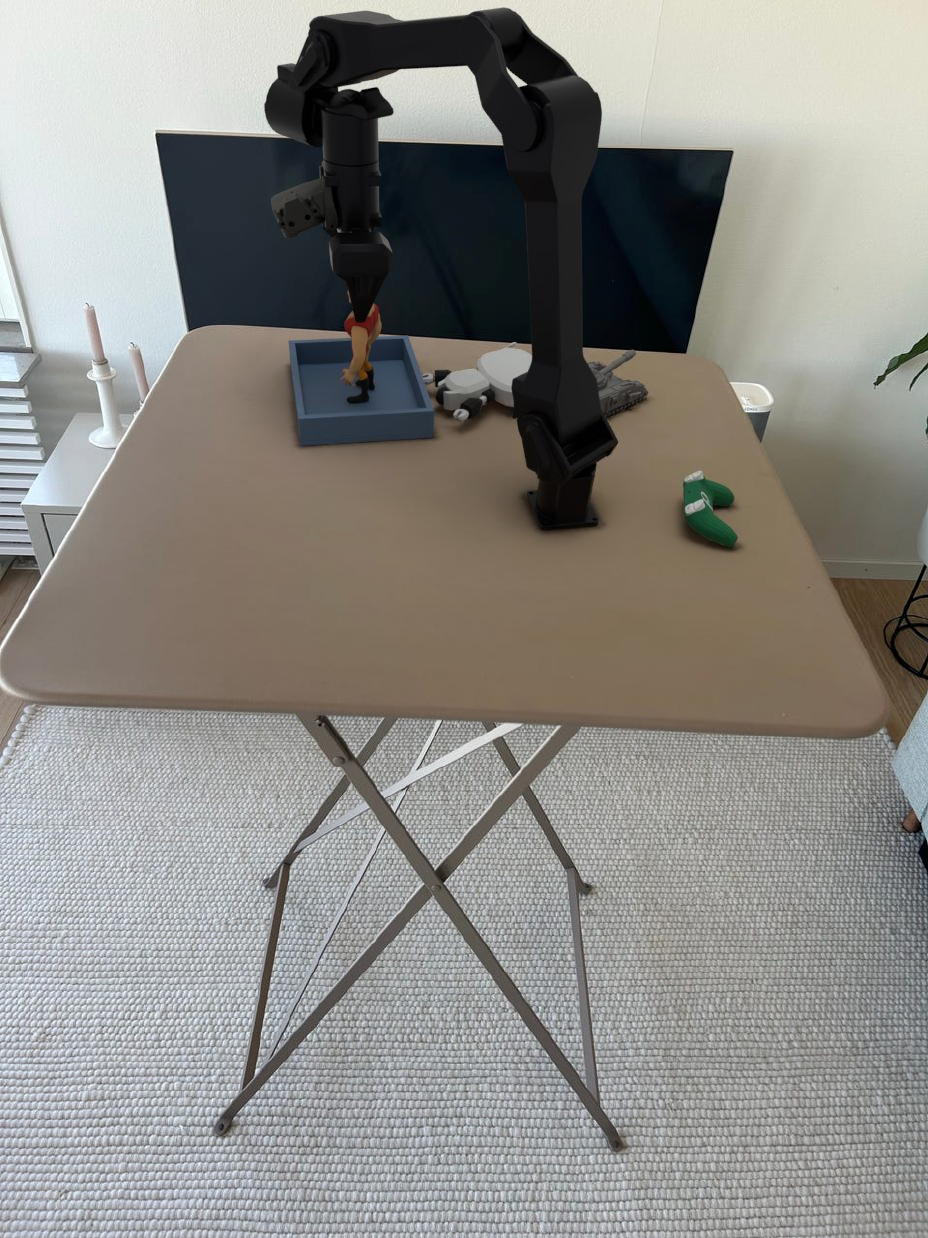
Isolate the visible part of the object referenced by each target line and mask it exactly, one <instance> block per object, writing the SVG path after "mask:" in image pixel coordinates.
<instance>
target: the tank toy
mask: <svg viewBox="0 0 928 1238" xmlns="http://www.w3.org/2000/svg"><path fill="white" fill-rule="evenodd" d="M636 355H637V352H636V350H635V349H629V350H627V351H626V352H625V353H623V354H622V355H621V356H620V357H618V358H616V359H615V360H614V361H612V362H611V363H610V364H608V365H606V364H605V363H603V362H600V361H589V362H587V363H588V365H589V367H590V368H591V370H592V372H593V373H594V375H595V377H596V379H597V384H598V391H599V398H600V405H601V409H602V411H603V413H604V415H605V417H606V418H607V416H611V415H613V414H615V413H617V412H619V411H621V410H623V409H626V408H627V407H630V406H631V405H635V404H636V403H638V402H642V400H644V399H645V398H646V397H647V396H648V395H649V390H648V389H647V388H646V387H645V384H644V383H643V382H640V381H638V380H633V379H622V378H621V377H618V376H617V375H615V374H614V373H613V371H614V370H616V369H618V368H619V367H621V366H622V365H623V364H624V363H627V362H629V361H630V360H632V359H633V358H635V356H636Z"/></svg>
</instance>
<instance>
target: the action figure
mask: <svg viewBox="0 0 928 1238" xmlns="http://www.w3.org/2000/svg"><path fill="white" fill-rule="evenodd" d="M346 294H347V295H348V302H349V304H351V300H350V296H349V291H348V290H347V293H346ZM343 327H344V331H345V333H347V335H348V336H349V338H351V340H352V350H353V359H352V361H351V364H350V369H344V370H343V371H342V373H345V375H344V376H343V377H342V378H341V379H340V381H342V380H343V379H345V385H346V384H347V381H348V384H349V385H350V386H351V385H352V386H354V384H353V381H354V378H355V373H357V376H358V380H357V381H356V385H358V386H361V389H362V392H361V394H360V395H358V396H351V397H347V401H348V402H349V403H359V402H364V401H369V398H370V397H369V395H368V388H369V389H371V390H373V389H375V385H374V382H373V379H374V370H373V366H372V365H371V364H370V363H369V362H367V361H368V356H369V352H370V349H371V344H372V343H373V342H374V341H375V340H376V339H377V337H380V334H381V331H382V329H383V328H382V321H381V315H380V312H379V306H378V305H377V304H376V303H375V302H374V303H373V306H372V308H371V310H370V312H369V315H368V317H367V319H366V321H365V322H364V323H357V322H355V318H354V313H353V310H351V312H350V313H349V315H348V316H347V318H346V320H345V321H344V324H343ZM363 369H364V371H363Z"/></svg>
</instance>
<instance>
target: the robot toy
mask: <svg viewBox="0 0 928 1238" xmlns="http://www.w3.org/2000/svg"><path fill="white" fill-rule="evenodd" d="M517 344H518V343H517V342H515V341H513V342H511V343H510V344H509V345H507V346H505V347H503V348H501V349H498V350H493V351H490V352H486V353H484V354H482V355H481V356H480V357H479V358H478V359H477V362H476V368H475V367H474V368H467V369H462V370H461V369H460V370H456V371H451V370H449V369H435V370H434V374H433V373H430V372H426V373H423V374H422V377H423V380H424V383H425V385H427V386H428V385H429V386H430V385H431V384H434V388H438V389H437V390H436V392H435V394H434V395H435V396H434V397H435V401H436V402H437V404H439V405H440V406H443V409H445V410H448V411H454V412H453V413H452V415H453V418H454V419H456V420H457V419H458V421H462V422H463V421H466V420H472V419H473V418H475V417H477V416H478V415H479V414H480V413H481V410H482V407H483V406H485V405H489V404H491V403H492V402H494V401H496V402H497V403H499V404H501V405H503V406H504V407H508V408H509V407H510V408H514V401H513V395H512V390H511V386H512V380H513V379H514V378H516V377H518V376H520V375H522V374H524V373H526V372H527V371H528V370H529V367H530V365H531V361H532V353H529V352H527V351H525V350H523V349H521V348H515V347H516V345H517Z"/></svg>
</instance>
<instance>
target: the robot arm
mask: <svg viewBox="0 0 928 1238" xmlns="http://www.w3.org/2000/svg"><path fill="white" fill-rule="evenodd" d="M308 26H309V27H308V28H309V29H308V32H307V36H306V39H305V41H304V44H303V46H302V49H301V50H300V53H299V56H298V59H297V61H296V63H294V62H291V63H282V64H278V65H277V66H276V71H277V78H276V79H275V80H274V81H273V82H272V83H271V85H270V86H269V88H268V91H267V93H266V97H265V102H264V104H263V108H264V116H265V120H266V121H267V124H268V125H269V127H270V128H271V130H272V131H273V132H275V133H276V134H278V135H280V136H282V137H285V138H289V139H291V140H294V141H297V142H299V143H302V144H305V145H308V146H310V147H313V148H322V156H323V157H322V161H321V165H318V169H319V178H316V179H314V180H311V181H305V182H303V183H301V184H298V185H295V186H293V187H290V188H289V189H286V190H284V191H283V190H282V191H281V192H278V193H277V194H274V195H273V196H272V197H271V198H270V204H271V210H272V212H273V215H274V217H275V219H276V221H277V224H278V227H279V228H280V230H281V232H282V235H283V237H284V238H285V239H293V238H295V237H297V236H298V235H299V234H300V233H302V232H305V231H307V230H311V229H312V228H315V227H318V226H320V225H321V227H322V229H323V231H324V232H325V233H326V234H327V235H328V236H329V237H331V239H330V240H329V241H328V245H329V246H328V251H329V260H330V266H331V270H332V274H334V276H336V277H337V278H340V279H341V280H343V281H344V283H345V286H346V289H347V292H348V291H349V295H348V297H349V296H350V300H351V303H350V304H351V308H352V311H353V313H354V318H355V322H357V323H364V322H365V321H366V319H367V317H368V315H369V312H370V310H371V308H372V306H373V303H374V304H375V301H376V299H377V297H378V295H379V293H380V290H381V288H382V286H383V284H384V282H385V280H386V278H387V277H388V276H389V275H390V273H391V272H393V271H394V269H393V268H394V267H393V263H394V262H393V261H394V260H393V259H394V258H393V250H392V247H391V245H390V242H389V240H388V238H386V237H385V236H384V235H383V234H382V233H381V232H380V231H375V229H376V228H383V216H382V213H381V210H380V187H383V186H382V179H383V178H382V173H381V171H380V167H379V166H380V165H379V163H380V162H379V155H380V154H379V119H383V118H385V117H390V116H391V117H392V116H393V115H394V110H395V109H394V108H393V106H392V105H391V103H390V102H389V101H388V99H387V98H385V97H384V96H383V94H382V92H381V91H380V89H379V87H378V86H374V87H369V88H364V89H363V88H362V89H360V91H359V90H357V89H356V90H355V89H352V88H345V89H340V90H339V88H341V87H347V86H352V85H357V84H362V83H363V82H369V81H374V80H378V79H380V78H383V77H387V76H389V75H392V74H395V73H396V72H398V71H400V70H416V69H432V68H434V69H435V68H436V69H437V68H451V67H452V68H453V67H454V68H455V67H456V68H457V67H467V68H468V69H469V70H470V72H471V73H472V75H473V76H474V79H475V83H476V86H477V92H478V98H479V100H480V105H481V107H482V110H483V111H484V113H485V114H486V116H487V117H488V119H490V121H491V122H492V123H493V125H494V127H495V128H496V129H497V131H498V132H499V133H500V135H501V142H502V146H503V153H504V157H505V158H504V159H505V164H506V169H507V171H508V174H509V175H510V177H511V179H512V181H513V183H514V184H515V187H516V188H517V189H518V191H519V193H520V195H521V197H522V198H523V200H524V207H525V227H526V228H525V229H526V251H527V252H526V253H527V272H528V273H527V275H528V295H529V296H528V297H529V316H530V317H529V318H530V319H529V321H530V340H531V341H530V343H531V345H530V346H531V355H532V361H531V365H530V367H529V370H528V371H527V372H526V373H524V374H522V375H520V376H518V377H516V378H514V379H513V380H512V386H511V390H512V395H513V401H514V407H513V411H512V413H511V419H512V420H515V419H516V426H517V430H518V434H519V436H520V438H521V443H522V450H523V454H524V455H523V456H524V461H525V465H526V468H527V469H528V470H530V471H531V472H533V473H535V475H536V478H537V479H538V485H537V489H533V490H527V491H526V493H525V497H526V499H527V502H528V504H529V506H530V508H531V511H532V513H533V515H534V517H535V520H536V522H537V525H538V527H539V528H540V530H541V529H542V530H554V529H567V528H576V527H578V528H579V527H588V526H589V527H590V526H597V525H599V522H600V518H599V516H598V514H597V513H596V511H595V509H594V507H593V505H592V503H591V499H592V493H593V488H594V483H595V477H596V471H597V467H598V466H597V465H598V464H597V463H599V462H600V461H602V460H603V459H605V458H607V457H610V456H611V455H612V454H613V452H614V451H615V449H616V447H617V446H618V444H619V440H618V438H617V436H616V434H615V432H614V429H613V428H612V426H611V424H610V422H609V421H608V419H607V417H605V415H604V413H603V411H602V409H601V405H600V398H599V391H598V384H597V379H596V377H595V375H594V373H593V372H592V370H591V368H590V367H589V365H588V362H587V360H586V358H585V356H584V345H583V343H584V338H583V337H584V336H583V335H584V334H583V333H584V332H583V331H584V330H583V329H584V328H583V321H584V320H583V319H584V318H583V238H582V237H583V236H582V235H583V233H582V232H583V229H582V228H583V227H582V225H583V224H582V223H583V222H582V200H583V194H584V190H585V187H586V185H587V183H588V180H589V177H590V175H591V173H592V170H593V168H594V165H595V163H596V161H597V157H598V151H599V143H600V135H601V129H602V121H603V119H602V118H603V109H602V102H601V98H600V95H599V93H598V92H597V91H595V90H594V88H593V87H592V86H591V84H590V83H589V82H588V81H587V80H586V79H584V78H583V77H581V76H579V74H578V73H577V72H576V71H575V69H574V68H573V66H572V65H571V64H570V62H569V61H568V60H567V59H566V58H565V57H564V56H563V55H561V54H560V52H558V51H557V50H555V49H554V48H552V46H550V45H549V44H548V43H546V42H545V41H544V40H542V39H541V38H540V37H539V36H538V35H536V34H535V33H534V32H533V31H532V29H531V28H530V27H529V25H528V24H527V23H526V22H525V20H524V19H523V18H522V16H521V15H520V14H519V13H517V12H516V11H515V10H512V9H511V8H509V7H503V6H502V7H496V8H488V9H483V10H475V11H471V12H470V13H468V14H460V15H449V16H439V17H432V18H431V17H430V18H418V19H409V20H408V19H407V20H402V19H397V18H395V17H393V16H391V15H390V14H386V13H382V12H376V11H372V10H359V11H349V12H341V13H334V14H326V15H325V14H324V15H317V16H316V17H313V18H312V19H311V20H310V21H309V23H308ZM509 72H510V73H511V74H513V75H514V76H515V77H517V78H518V79H519V80H521V81H522V82H523V83H525V85H521V86H519V85H518V84H517V83H516V81H515V80H514V79H513V78H512V76H511V75H510V73H509Z"/></svg>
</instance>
